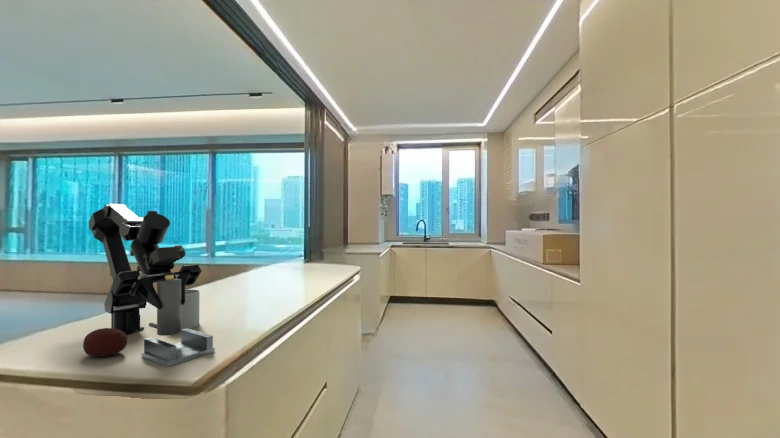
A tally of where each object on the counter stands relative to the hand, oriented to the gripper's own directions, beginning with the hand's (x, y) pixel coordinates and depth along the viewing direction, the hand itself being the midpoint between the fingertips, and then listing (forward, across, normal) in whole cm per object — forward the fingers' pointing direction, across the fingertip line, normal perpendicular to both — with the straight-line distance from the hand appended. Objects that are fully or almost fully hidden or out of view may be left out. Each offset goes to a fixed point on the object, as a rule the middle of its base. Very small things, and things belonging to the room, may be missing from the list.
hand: (172, 305), depth 89 cm
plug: (+1, 0, +8) cm, 8 cm away
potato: (0, -9, +16) cm, 18 cm away
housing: (+10, 0, +6) cm, 11 cm away
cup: (-6, +13, +22) cm, 26 cm away
